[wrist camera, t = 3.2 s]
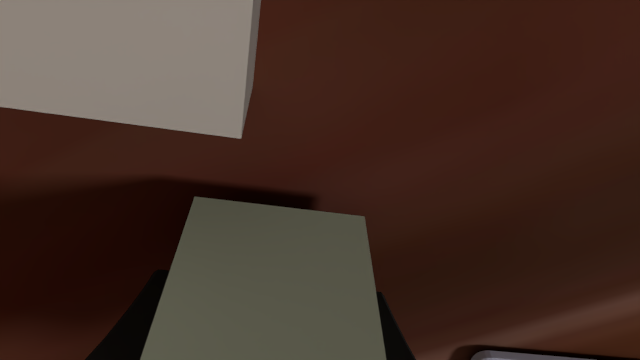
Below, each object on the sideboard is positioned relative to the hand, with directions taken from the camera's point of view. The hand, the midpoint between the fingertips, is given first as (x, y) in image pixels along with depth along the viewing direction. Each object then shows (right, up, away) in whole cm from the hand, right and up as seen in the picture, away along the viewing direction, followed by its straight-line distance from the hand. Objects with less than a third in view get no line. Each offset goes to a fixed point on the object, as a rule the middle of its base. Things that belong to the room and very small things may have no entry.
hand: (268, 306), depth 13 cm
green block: (0, +1, +1) cm, 2 cm away
